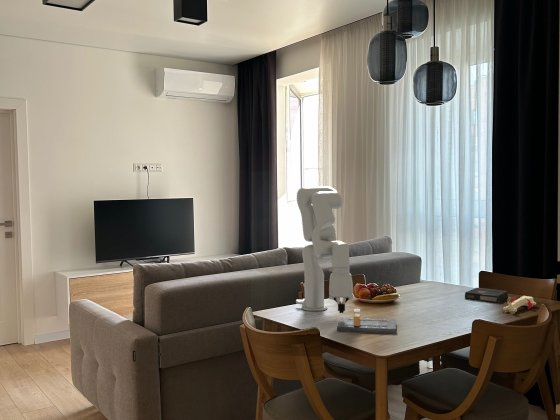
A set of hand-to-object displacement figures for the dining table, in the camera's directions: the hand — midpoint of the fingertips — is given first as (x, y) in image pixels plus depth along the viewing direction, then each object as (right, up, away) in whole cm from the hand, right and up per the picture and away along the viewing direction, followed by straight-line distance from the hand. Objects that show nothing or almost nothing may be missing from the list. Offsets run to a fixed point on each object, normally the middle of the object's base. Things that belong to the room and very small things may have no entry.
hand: (341, 312), depth 244 cm
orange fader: (+5, -3, -10) cm, 11 cm away
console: (+10, -5, -6) cm, 13 cm away
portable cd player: (+81, -2, +49) cm, 95 cm away
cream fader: (+7, -3, -1) cm, 7 cm away
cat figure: (+88, -3, +25) cm, 92 cm away
